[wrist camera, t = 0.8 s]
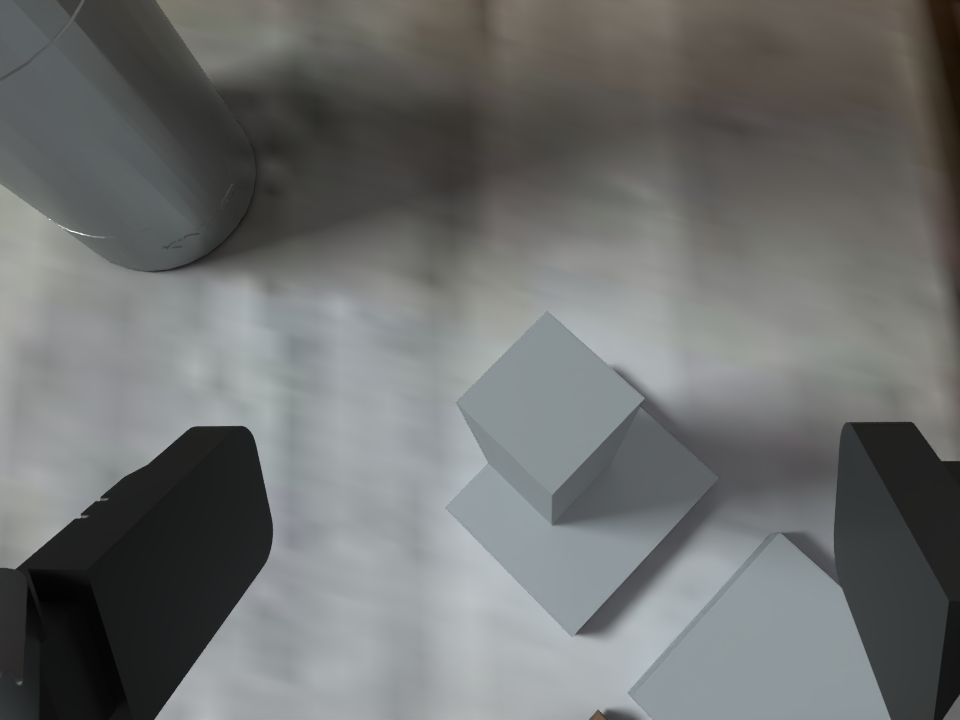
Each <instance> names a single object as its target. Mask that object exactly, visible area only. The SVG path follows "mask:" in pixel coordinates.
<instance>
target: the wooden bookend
mask: <svg viewBox="0 0 960 720" xmlns="http://www.w3.org/2000/svg"><path fill="white" fill-rule="evenodd" d="M589 720H608V719H607V718H606V717H605V716H604V715H603V714H602V713H601V712H600V711H599V710H597V711H596V713H595V714H594V715H593V716H592V717H591V718H590V719H589Z"/></svg>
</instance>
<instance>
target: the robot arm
mask: <svg viewBox="0 0 960 720" xmlns="http://www.w3.org/2000/svg"><path fill="white" fill-rule="evenodd" d="M255 178H256V166H255V156H254V152H253V150H252V147H251V144H250V141H249V138H248V137H247V135H246V134H245V132H244V131H243V129H242V128H241V126H240V125H239V123H238V122H237V120H236V119H235V117H234V116H233V114H232V113H231V111H230V110H229V108H228V107H227V105H226V104H225V102H224V101H223V99H222V98H221V97H220V95H219V94H218V92H217V91H216V89H215V87H214V86H213V84H212V82H211V81H210V80H209V78H208V77H207V75H206V74H205V72H204V71H203V69H202V68H201V66H200V65H199V63H198V62H197V61H196V59H195V58H194V56H193V55H192V53H191V52H190V50H189V49H188V47H187V46H186V44H185V43H184V41H183V40H182V39H181V37H180V36H179V34H178V33H177V31H176V30H175V28H174V27H173V25H172V24H171V22H170V21H169V20H168V18H167V17H166V15H165V14H164V12H163V11H162V9H161V8H160V6H159V5H158V3H157V2H156V0H0V184H2V185H3V186H4V187H6V188H7V189H9V190H10V191H11V192H13V193H14V194H16V195H17V196H18V197H20V198H21V199H23V200H24V201H25V202H27V203H28V204H29V205H31V206H32V207H34V208H35V209H36V210H38V211H39V212H41V213H42V214H43V215H45V216H46V217H47V218H49V219H50V220H51V221H53V222H54V223H55V224H57V225H58V226H59V227H61V228H62V229H64V230H65V231H67V232H68V233H69V234H71V235H72V236H74V237H75V238H76V239H78V240H79V241H81V242H82V243H83V244H85V245H86V246H88V247H89V248H90V249H92V250H93V251H95V252H96V253H98V254H99V255H101V256H102V257H104V258H105V259H107V260H108V261H110V262H111V263H114V264H117V265H120V266H122V267H125V268H128V269H135V270H142V271H156V270H168V269H171V268H175V267H179V266H182V265H186V264H188V263H190V262H192V261H194V260H196V259H198V258H200V257H202V256H204V255H206V254H208V253H209V252H210V251H212V250H213V249H214V248H216V247H217V246H218V245H220V244H221V243H222V242H223V241H224V240H225V239H226V238H227V237H228V236H229V235H230V234H231V233H232V231H233V230H234V229H235V228H236V227H237V226H238V224H239V222H240V221H241V219H242V217H243V216H244V214H245V212H246V211H247V209H248V206H249V203H250V200H251V198H252V195H253V192H254V186H255ZM272 539H273V524H272V517H271V513H270V508H269V503H268V499H267V494H266V489H265V484H264V480H263V475H262V470H261V466H260V461H259V456H258V452H257V447H256V443H255V440H254V437H253V435H252V433H251V432H250V431H249V429H247V428H246V427H244V426H197V427H192V428H190V429H189V430H187V431H186V432H185V433H184V434H183V435H182V436H180V437H179V438H178V439H177V440H176V441H175V442H174V443H172V444H171V445H170V446H169V447H168V448H167V449H165V450H164V451H163V452H162V453H161V454H160V455H158V456H157V457H156V458H155V459H154V460H153V461H152V462H150V463H149V464H148V465H146V466H144V467H142V468H140V469H139V470H137V471H135V472H133V473H131V474H129V475H127V476H125V477H124V478H123V479H121V480H120V481H119V482H118V483H117V484H116V485H114V486H113V487H112V488H111V489H110V490H108V491H107V492H106V493H105V494H104V495H103V496H101V501H96V502H94V503H93V504H92V505H91V506H90V507H88V508H87V509H86V510H85V511H84V512H83V513H81V518H80V519H74V520H73V521H72V522H71V523H70V524H68V525H67V526H66V527H65V528H64V529H63V530H61V531H60V532H59V533H58V534H57V535H55V536H54V537H53V538H52V539H51V540H50V541H48V542H47V543H46V544H45V545H44V546H43V547H41V548H40V549H39V550H38V551H37V552H35V553H34V554H33V555H32V556H31V557H30V558H28V559H27V560H26V561H25V562H24V563H22V564H21V565H20V566H19V567H18V568H17V569H15V570H14V569H8V568H0V720H154V719H155V718H156V716H157V715H158V714H159V712H160V711H161V709H162V708H163V706H164V705H165V704H166V702H167V701H168V699H169V698H170V697H171V695H172V694H173V692H174V691H175V690H176V688H177V687H178V685H179V684H180V683H181V681H182V680H183V678H184V677H185V676H186V674H187V673H188V671H189V670H190V669H191V667H192V666H193V664H194V663H195V662H196V660H197V659H198V657H199V656H200V655H201V653H202V652H203V650H204V649H205V648H206V646H207V645H208V643H209V642H210V641H211V639H212V638H213V636H214V635H215V634H216V632H217V631H218V629H219V628H220V627H221V625H222V624H223V622H224V621H225V620H226V618H227V617H228V615H229V614H230V613H231V611H232V610H233V608H234V607H235V606H236V604H237V603H238V601H239V600H240V599H241V597H242V596H243V594H244V593H245V592H246V590H247V589H248V587H249V586H250V585H251V583H252V582H253V580H254V579H255V578H256V576H257V575H258V573H259V572H260V571H261V569H262V568H263V566H264V565H265V563H266V561H267V559H268V557H269V554H270V550H271V546H272ZM834 553H835V562H836V569H837V574H838V578H839V581H840V584H841V587H842V590H843V592H844V595H845V598H846V601H847V603H848V606H849V609H850V611H851V614H852V617H853V619H854V622H855V625H856V627H857V630H858V633H859V635H860V638H861V641H862V643H863V646H864V649H865V652H866V654H867V657H868V660H869V662H870V665H871V668H872V670H873V673H874V676H875V678H876V681H877V684H878V686H879V689H880V692H881V694H882V697H883V700H884V703H885V705H886V708H887V711H888V713H889V716H890V719H891V720H960V461H941V460H940V459H939V457H938V456H937V455H936V453H935V452H934V451H933V449H932V448H931V446H930V445H929V444H928V442H927V441H926V439H925V438H924V437H923V435H922V434H921V433H920V431H919V430H918V428H917V427H916V426H915V425H914V423H912V422H847V423H845V425H844V426H843V429H842V433H841V438H840V449H839V464H838V479H837V493H836V508H835V523H834Z"/></svg>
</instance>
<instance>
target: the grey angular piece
mask: <svg viewBox="0 0 960 720" xmlns="http://www.w3.org/2000/svg"><path fill="white" fill-rule="evenodd" d="M644 399H645V398H644V397H643V396H642V395H641V394H640V393H638V392H637V391H636V390H635V389H634V388H633V387H632V386H631V385H630V384H628V383H627V382H626V381H625V380H624V379H623V378H622V377H621V376H619V375H618V374H617V373H616V372H615V371H614V370H613V369H612V368H611V367H609V366H608V365H607V364H606V363H605V362H604V361H603V360H602V359H601V358H599V357H598V356H597V355H596V354H595V353H594V352H593V351H592V350H590V349H589V348H588V347H587V346H586V345H585V344H584V343H583V342H582V341H580V340H579V339H578V338H577V337H576V336H575V335H574V334H573V333H571V332H570V331H569V330H568V329H567V328H566V327H565V326H564V325H563V324H561V323H560V322H559V321H558V320H557V319H556V318H555V317H554V316H552V315H551V314H550V313H549V312H548V311H547V312H546V313H545V314H544V315H543V316H542V317H541V318H540V319H539V320H538V321H537V322H536V323H535V324H534V325H533V326H532V327H531V328H530V329H529V330H528V331H527V332H526V333H525V334H524V335H523V336H522V337H521V338H520V339H519V340H518V341H517V342H516V343H515V344H514V345H513V346H512V347H511V348H510V349H509V350H508V351H507V352H506V353H505V354H504V355H503V356H502V357H501V358H500V359H499V360H498V361H497V362H496V363H495V364H494V365H493V366H492V367H491V368H490V369H489V370H488V371H487V372H486V373H485V374H484V375H483V376H482V377H481V378H480V379H479V380H478V381H477V382H476V383H475V384H474V385H473V386H472V387H471V388H470V389H469V390H468V391H467V392H466V393H465V394H464V395H463V396H462V397H461V398H460V399H459V400H458V401H457V402H456V403H457V405H458V407H459V409H460V411H461V413H462V414H463V416H464V418H465V420H466V422H467V424H468V426H469V427H470V429H471V431H472V433H473V435H474V437H475V439H476V440H477V442H478V444H479V446H480V448H481V450H482V452H483V454H484V455H485V457H486V459H487V461H488V464H487V465H486V466H485V467H484V468H483V469H482V470H481V471H480V472H479V473H478V474H477V475H476V476H475V477H474V478H473V479H472V480H471V481H470V482H469V483H468V485H467V486H466V487H465V488H464V489H463V490H462V491H461V492H460V493H459V494H458V495H457V496H456V497H455V498H454V499H453V500H452V501H451V502H450V503H449V504H448V505H447V506H446V507H445V508H446V509H447V510H448V511H449V512H450V513H451V514H452V515H453V516H454V517H455V518H456V519H457V520H458V521H459V522H460V523H461V524H462V526H463V527H464V528H465V529H466V530H467V531H468V532H469V533H470V534H471V535H472V536H473V537H474V538H475V539H476V540H477V541H478V542H479V543H480V544H481V545H482V546H483V547H484V548H485V549H486V550H487V551H488V552H489V553H490V554H491V555H492V556H493V557H494V558H495V559H496V560H497V561H498V562H499V563H500V564H501V565H502V566H503V567H504V568H505V569H506V570H507V571H508V572H509V573H510V574H511V575H512V576H513V578H514V579H515V580H516V581H517V582H518V583H519V584H520V585H521V586H522V587H523V588H524V589H525V590H526V591H527V592H528V593H529V594H530V595H531V596H532V597H533V598H534V599H535V600H536V601H537V602H538V603H539V604H540V605H541V606H542V607H543V608H544V609H545V610H546V611H547V612H548V613H549V614H550V615H551V616H552V617H553V618H554V619H555V620H556V621H557V622H558V623H559V624H560V625H561V626H562V627H563V628H564V629H565V631H566V632H567V633H568V634H569V635H570V636H571V637H573V636H574V635H575V633H576V632H577V631H578V630H579V629H580V628H581V627H582V626H583V625H584V624H585V623H586V622H587V620H588V619H589V618H590V617H591V616H592V615H593V614H594V613H595V612H596V611H597V610H598V609H599V607H600V606H601V605H602V604H603V603H604V602H605V601H606V600H607V599H608V598H609V597H610V596H611V595H612V593H613V592H614V591H615V590H616V589H617V588H618V587H619V586H620V585H621V584H622V583H623V582H624V580H625V579H626V578H627V577H628V576H629V575H630V574H631V573H632V572H633V571H634V570H635V569H636V568H637V566H638V565H639V564H640V563H641V562H642V561H643V560H644V559H645V558H646V557H647V556H648V555H649V553H650V552H651V551H652V550H653V549H654V548H655V547H656V546H657V545H658V544H659V543H660V542H661V541H662V539H663V538H664V537H665V536H666V535H667V534H668V533H669V532H670V531H671V530H672V529H673V528H674V526H675V525H676V524H677V523H678V522H679V521H680V520H681V519H682V518H683V517H684V516H685V515H686V513H687V512H688V511H689V510H690V509H691V508H692V507H693V506H694V505H695V504H696V503H697V502H698V501H699V499H700V498H701V497H702V496H703V495H704V494H705V493H706V492H707V491H708V490H709V489H710V488H711V486H712V485H713V484H714V483H715V482H716V481H717V480H718V479H719V477H718V476H717V475H716V474H715V473H714V472H713V471H711V470H710V469H709V468H708V467H707V466H706V465H705V464H704V463H703V462H701V461H700V460H699V459H698V458H697V457H696V456H695V455H694V454H693V453H691V452H690V451H689V450H688V449H687V448H686V447H685V446H684V445H683V444H681V443H680V442H679V441H678V440H677V439H676V438H675V437H674V436H673V435H671V434H670V433H669V432H668V431H667V430H666V429H665V428H664V427H663V426H661V425H660V424H659V423H658V422H657V421H656V420H655V419H654V418H653V417H651V416H650V415H649V414H648V413H647V412H646V411H645V410H644V409H643V408H641V405H642V403H643V401H644ZM628 694H629V695H630V697H631V698H632V699H633V700H634V701H635V702H636V703H637V704H638V705H639V706H640V707H641V708H642V709H643V710H644V711H645V712H646V713H647V714H648V715H649V716H650V717H651V718H652V719H653V720H891V719H890V716H889V713H888V711H887V708H886V705H885V703H884V700H883V697H882V694H881V692H880V689H879V686H878V684H877V681H876V678H875V676H874V673H873V670H872V668H871V665H870V662H869V660H868V657H867V654H866V652H865V649H864V646H863V643H862V641H861V638H860V635H859V633H858V630H857V627H856V625H855V622H854V619H853V617H852V614H851V611H850V609H849V606H848V603H847V601H846V598H845V595H844V592H843V590H842V588H841V587H840V586H839V585H838V584H837V583H836V582H835V581H834V580H833V579H831V578H830V577H829V576H828V575H827V574H826V573H825V572H824V571H823V570H821V569H820V568H819V567H818V566H817V565H816V564H815V563H814V562H813V561H811V560H810V559H809V558H808V557H807V556H806V555H805V554H804V553H803V552H801V551H800V550H799V549H798V548H797V547H796V546H795V545H794V544H793V543H791V542H790V541H789V540H788V539H787V538H786V537H785V536H784V535H783V534H781V533H780V532H777V533H773V534H770V535H769V537H768V538H767V539H766V540H765V541H764V542H763V543H762V544H761V545H760V547H759V548H758V549H757V550H756V551H755V552H754V553H753V554H752V555H751V557H750V558H749V559H748V560H747V561H746V562H745V563H744V564H743V565H742V566H741V568H740V569H739V570H738V571H737V572H736V573H735V574H734V575H733V576H732V578H731V579H730V580H729V581H728V582H727V583H726V584H725V585H724V586H723V588H722V589H721V590H720V591H719V592H718V593H717V594H716V595H715V596H714V597H713V599H712V600H711V601H710V602H709V603H708V604H707V605H706V606H705V607H704V609H703V610H702V611H701V612H700V613H699V614H698V615H697V616H696V617H695V619H694V620H693V621H692V622H691V623H690V624H689V625H688V626H687V627H686V628H685V630H684V631H683V632H682V633H681V634H680V635H679V636H678V637H677V638H676V640H675V641H674V642H673V643H672V644H671V645H670V646H669V647H668V648H667V650H666V651H665V652H664V653H663V654H662V655H661V656H660V657H659V658H658V660H657V661H656V662H655V663H654V664H653V665H652V666H651V667H650V668H649V669H648V671H647V672H646V673H645V674H644V675H643V676H642V677H641V678H640V679H639V681H638V682H637V683H636V684H635V685H634V686H633V687H632V688H631V689H630V691H629V692H628Z"/></svg>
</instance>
